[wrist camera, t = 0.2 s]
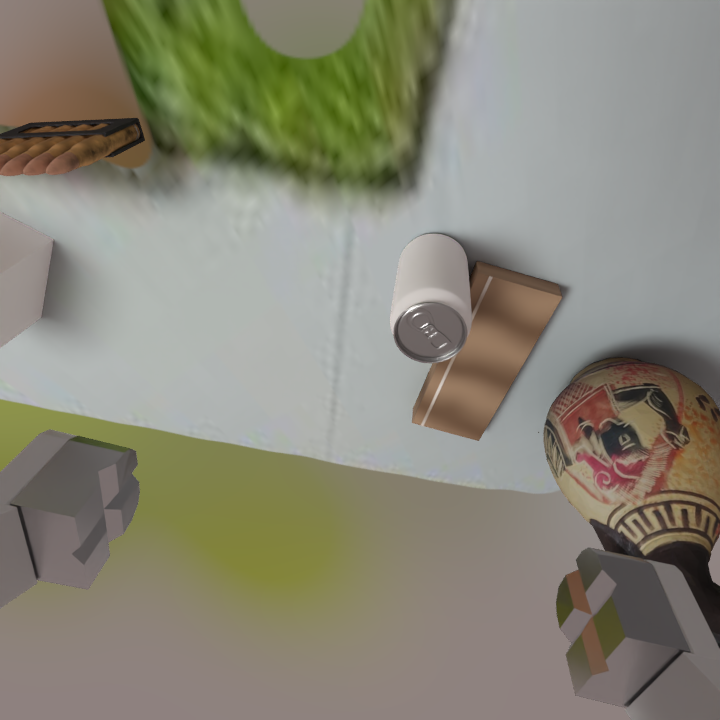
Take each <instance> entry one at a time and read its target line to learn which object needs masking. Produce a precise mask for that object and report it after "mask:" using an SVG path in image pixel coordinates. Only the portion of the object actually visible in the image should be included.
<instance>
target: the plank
mask: <svg viewBox="0 0 720 720" xmlns="http://www.w3.org/2000/svg"><path fill="white" fill-rule="evenodd" d="M469 284H470V297H471V311H472V324H471V330H470V333H469V335H468V337H467V339H466V342H465V345H464V346H463V348H462V349H461V351H460V352H459V353H458V354H456V355H455V356H454V357H452V358H450V359H448V360H446V361H443V362H439V363H433V364H432V366H431V368H430V371H429V373H428V375H427V378H426V380H425V382H424V384H423V387H422V389H421V391H420V394H419V396H418V398H417V401H416V403H415V405H414V408H413V417H412V423H415V424H418V425H421V426H426V427H429V428H433V429H437V430H440V431H444V432H448V433H451V434H455V435H459V436H462V437H466V438H470V439H473V440H477V441H479V439H480V438H481V436H482V434H483V433H484V431H485V429H486V427H487V426H488V424H489V422H490V421H491V419H492V417H493V415H494V414H495V412H496V410H497V409H498V407H499V405H500V403H501V402H502V400H503V398H504V397H505V395H506V393H507V391H508V390H509V388H510V386H511V384H512V383H513V381H514V379H515V378H516V376H517V374H518V372H519V371H520V369H521V367H522V366H523V364H524V362H525V360H526V359H527V357H528V355H529V354H530V352H531V350H532V348H533V347H534V345H535V343H536V342H537V340H538V338H539V336H540V335H541V333H542V331H543V329H544V328H545V326H546V324H547V323H548V321H549V319H550V317H551V316H552V314H553V312H554V311H555V309H556V307H557V305H558V304H559V302H560V300H561V299H562V294H561V292H560V289H559V286H558V284H556V283H552V282H549V281H545V280H542V279H538V278H535V277H531V276H528V275H524V274H521V273H517V272H514V271H511V270H507V269H504V268H500V267H497V266H493V265H490V264H486V263H483V262H479V261H477V262H476V264H475V266H474V269H473V271H472V273H471V276H470V278H469Z"/></svg>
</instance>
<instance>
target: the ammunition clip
mask: <svg viewBox="0 0 720 720" xmlns="http://www.w3.org/2000/svg"><path fill="white" fill-rule="evenodd" d="M143 141H145V139H144V136H143V132H142V129H141V126H140V122H139V119H138V118H125V119H104V120H82V121H62V122H40V123H29V124H26V125H23V126H21V127H18V128H15V129H12V130H10V131H7V132H4V133H2V134H0V175H3V176H15V175H20V174H25V175H39V174H43V173H47V174H51V175H57V174H63V173H67V172H70V171H72V170H74V169H77V168H79V167H82V166H87V165H90V164H92V163H94V162H96V161H98V160H100V159H102V158H103V157H114V156H116V155H118V154H120V153H122V152H124V151H125V150H127V149H129V148H131V147H133V146H135V145H137V144H139V143H141V142H143Z"/></svg>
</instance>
